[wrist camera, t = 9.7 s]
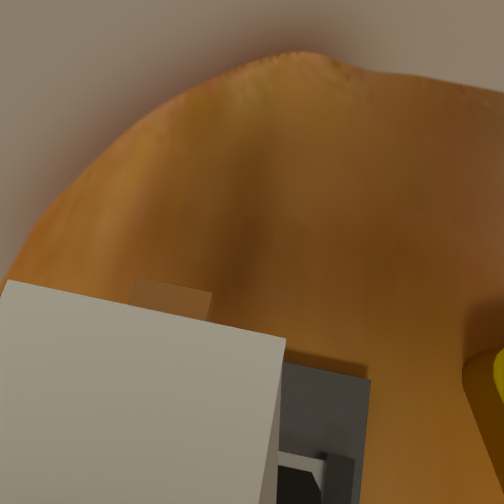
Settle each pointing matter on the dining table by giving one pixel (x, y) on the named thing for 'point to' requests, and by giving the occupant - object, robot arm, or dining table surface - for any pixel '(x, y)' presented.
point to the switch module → (131, 399)
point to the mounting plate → (324, 429)
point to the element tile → (488, 401)
